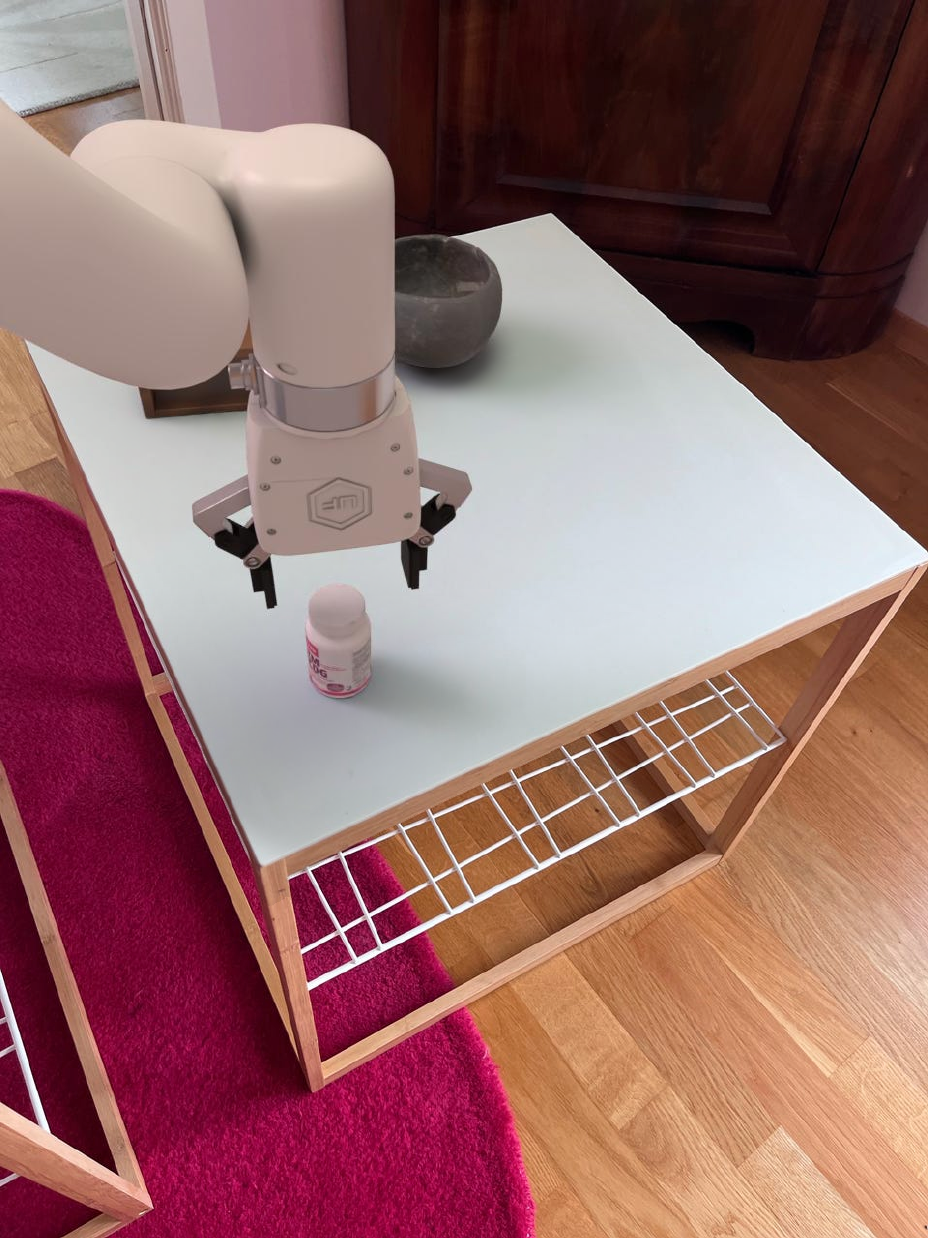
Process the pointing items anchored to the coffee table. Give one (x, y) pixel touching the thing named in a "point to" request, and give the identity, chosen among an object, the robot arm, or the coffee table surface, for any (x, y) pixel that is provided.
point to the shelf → (201, 392)
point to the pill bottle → (338, 641)
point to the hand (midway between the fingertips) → (340, 583)
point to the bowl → (443, 300)
